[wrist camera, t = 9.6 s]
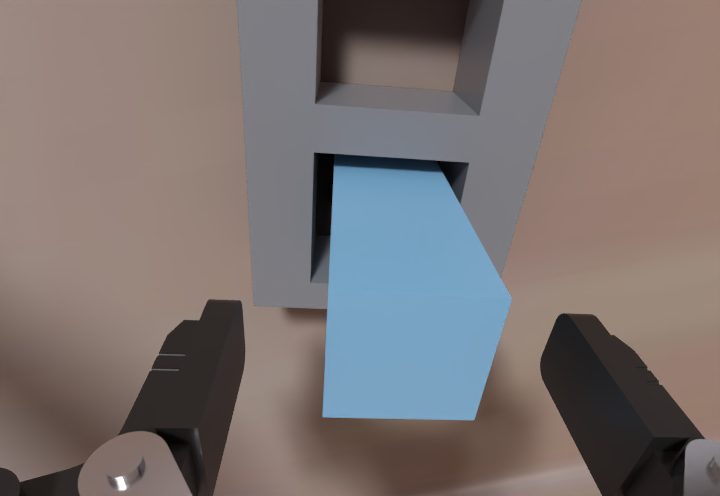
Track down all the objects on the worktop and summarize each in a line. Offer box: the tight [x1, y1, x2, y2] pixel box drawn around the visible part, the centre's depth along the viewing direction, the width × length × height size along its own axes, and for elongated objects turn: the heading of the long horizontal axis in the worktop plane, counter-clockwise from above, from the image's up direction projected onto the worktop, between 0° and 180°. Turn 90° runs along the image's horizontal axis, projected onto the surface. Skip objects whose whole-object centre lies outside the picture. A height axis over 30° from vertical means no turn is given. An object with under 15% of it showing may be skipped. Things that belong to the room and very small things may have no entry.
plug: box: [322, 154, 512, 420], centre depth 15 cm, size 4×4×11 cm
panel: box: [237, 0, 582, 309], centre depth 15 cm, size 22×10×4 cm, turn 175°
